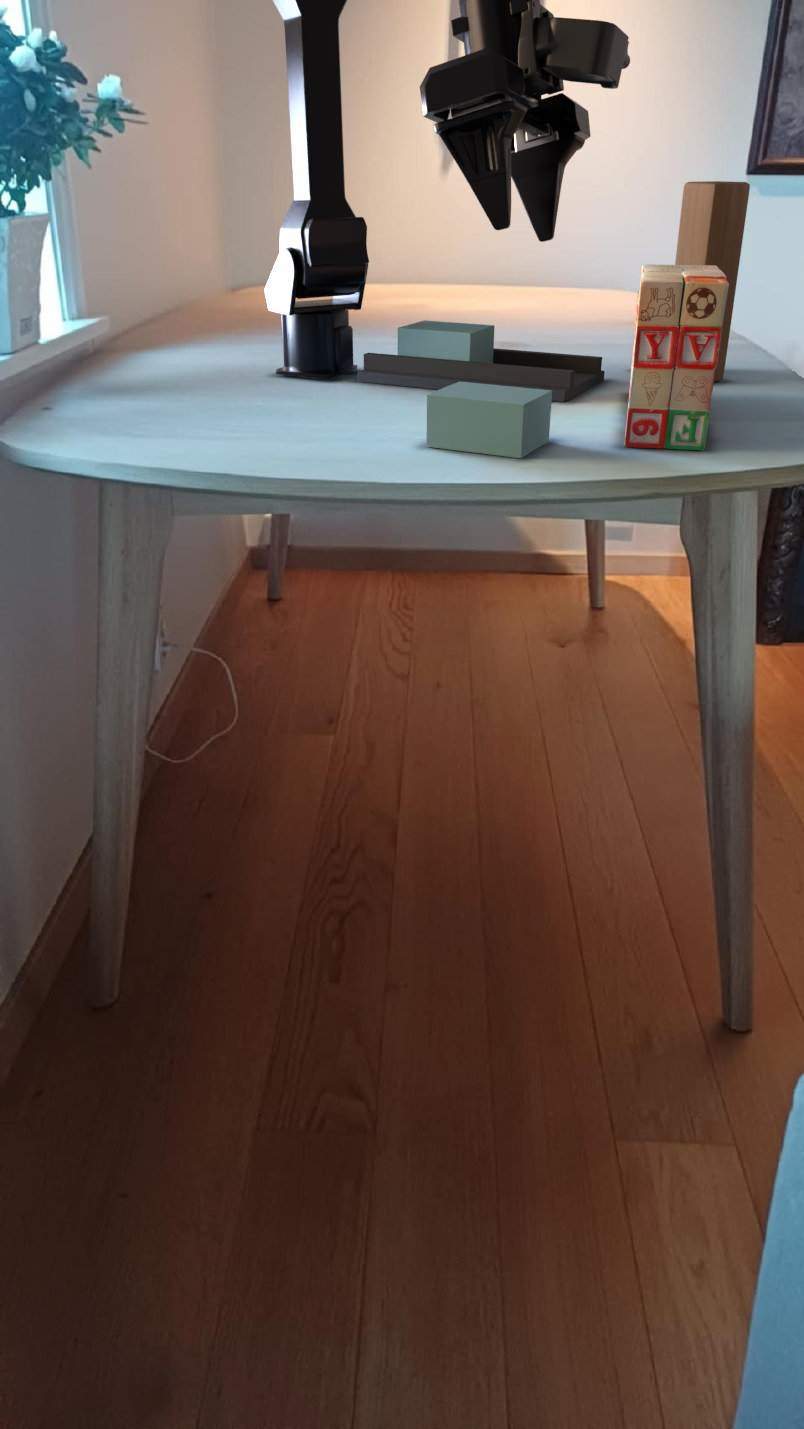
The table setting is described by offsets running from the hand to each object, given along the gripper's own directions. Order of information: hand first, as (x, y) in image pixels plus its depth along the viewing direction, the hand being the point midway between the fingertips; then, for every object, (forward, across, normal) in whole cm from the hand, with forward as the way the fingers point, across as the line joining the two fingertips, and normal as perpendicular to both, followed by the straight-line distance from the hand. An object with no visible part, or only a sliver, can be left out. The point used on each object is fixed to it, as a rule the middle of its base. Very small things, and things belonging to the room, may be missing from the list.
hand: (525, 235), depth 78 cm
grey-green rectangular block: (+15, -2, +4) cm, 15 cm away
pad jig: (+9, +22, +14) cm, 28 cm away
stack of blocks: (+15, +13, -6) cm, 21 cm away
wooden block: (+11, +34, -2) cm, 36 cm away
